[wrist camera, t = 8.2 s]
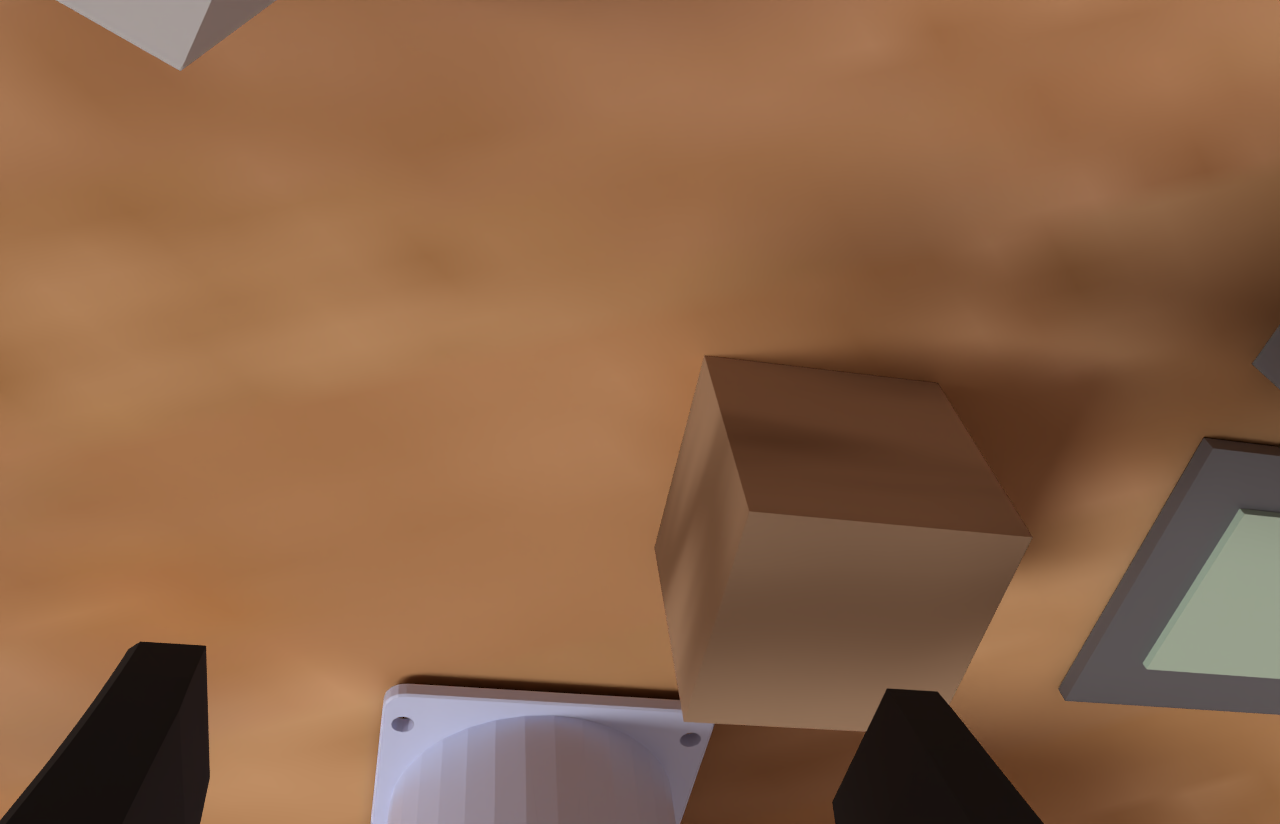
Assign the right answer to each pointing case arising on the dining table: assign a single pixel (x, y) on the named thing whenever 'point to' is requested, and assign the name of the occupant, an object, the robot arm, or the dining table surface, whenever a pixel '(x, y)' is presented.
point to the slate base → (1270, 359)
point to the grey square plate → (1197, 596)
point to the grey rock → (170, 23)
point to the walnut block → (826, 546)
